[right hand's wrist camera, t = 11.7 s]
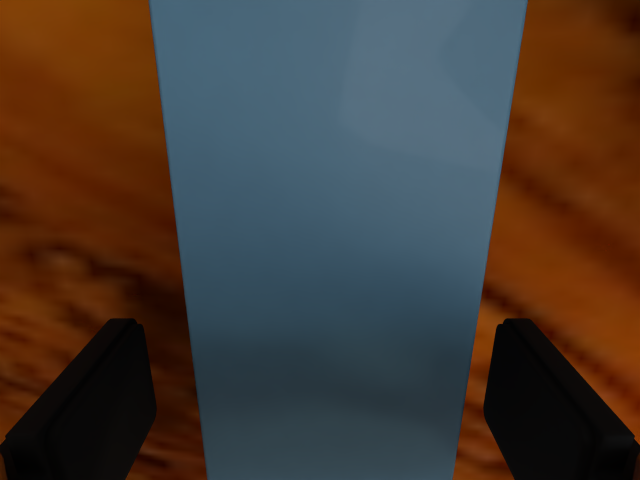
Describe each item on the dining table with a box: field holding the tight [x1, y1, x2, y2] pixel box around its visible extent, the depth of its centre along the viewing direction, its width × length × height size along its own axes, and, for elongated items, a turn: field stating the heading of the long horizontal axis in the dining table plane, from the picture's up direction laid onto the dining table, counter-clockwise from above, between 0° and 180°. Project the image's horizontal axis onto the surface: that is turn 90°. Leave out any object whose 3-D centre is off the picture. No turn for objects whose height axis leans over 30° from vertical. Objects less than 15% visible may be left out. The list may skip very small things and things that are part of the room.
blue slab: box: [149, 0, 528, 480], centre depth 12 cm, size 21×6×11 cm, turn 0°
